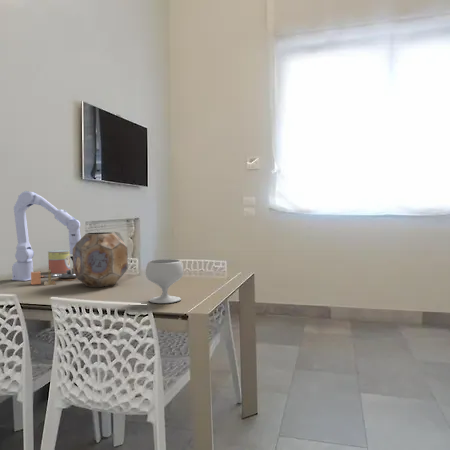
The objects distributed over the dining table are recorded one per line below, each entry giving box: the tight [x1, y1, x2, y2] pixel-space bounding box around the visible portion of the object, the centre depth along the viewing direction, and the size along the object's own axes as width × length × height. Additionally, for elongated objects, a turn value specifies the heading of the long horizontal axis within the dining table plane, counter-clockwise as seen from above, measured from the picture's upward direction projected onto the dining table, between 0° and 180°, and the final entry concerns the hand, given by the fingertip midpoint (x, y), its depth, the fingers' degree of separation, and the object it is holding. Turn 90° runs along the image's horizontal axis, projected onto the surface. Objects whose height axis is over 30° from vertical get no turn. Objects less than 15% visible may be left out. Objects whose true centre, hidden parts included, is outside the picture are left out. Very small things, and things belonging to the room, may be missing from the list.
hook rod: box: [30, 271, 62, 285], centre depth 204 cm, size 13×4×6 cm, turn 112°
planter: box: [72, 231, 129, 288], centre depth 198 cm, size 22×24×24 cm
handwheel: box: [57, 267, 76, 279], centre depth 217 cm, size 10×10×4 cm
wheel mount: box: [51, 277, 78, 282], centre depth 217 cm, size 11×11×1 cm
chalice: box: [145, 258, 184, 304], centre depth 162 cm, size 14×14×15 cm
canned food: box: [47, 249, 71, 275], centre depth 240 cm, size 11×11×12 cm
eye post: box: [43, 268, 56, 286], centre depth 204 cm, size 5×10×6 cm, turn 22°
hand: (77, 269), depth 219 cm, fingers closed, pressing on handwheel
